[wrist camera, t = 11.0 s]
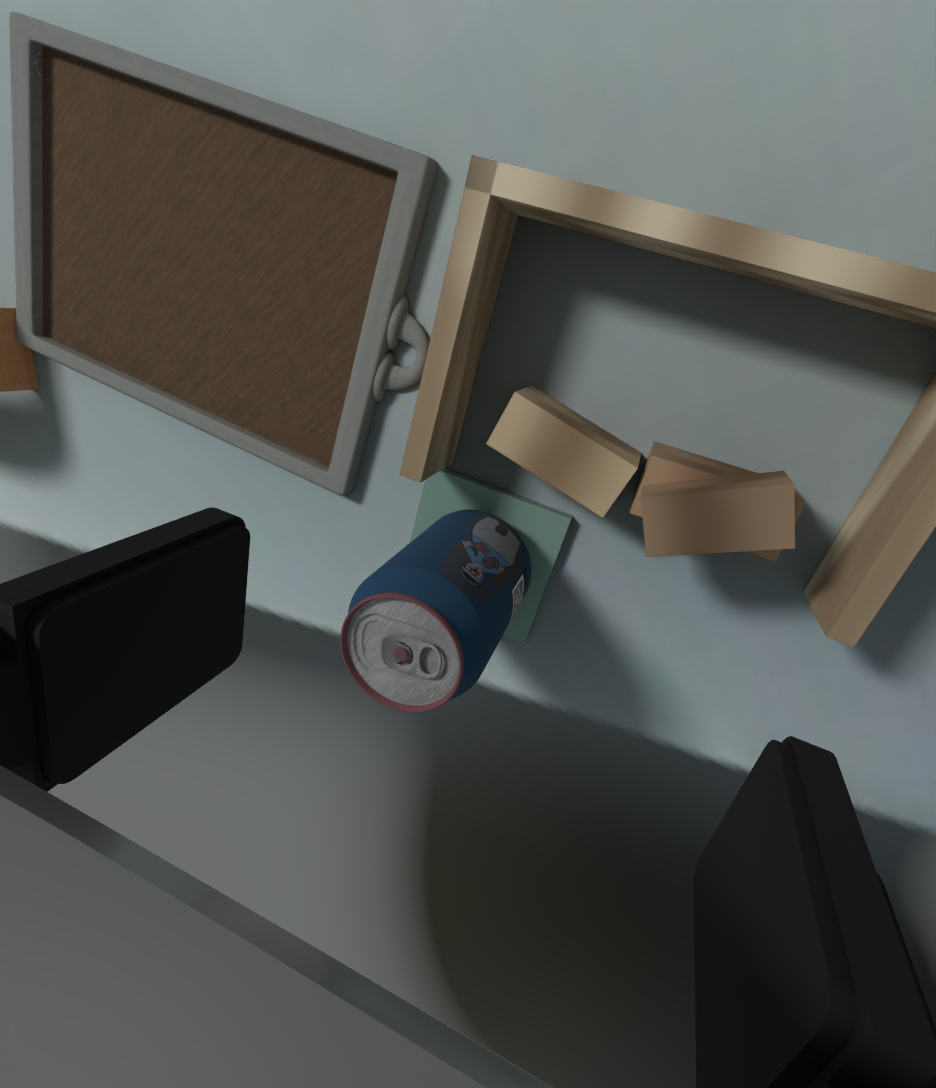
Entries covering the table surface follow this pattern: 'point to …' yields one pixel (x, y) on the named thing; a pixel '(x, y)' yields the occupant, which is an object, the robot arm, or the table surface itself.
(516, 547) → the soda can
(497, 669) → the table surface
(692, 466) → the offcut
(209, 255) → the framed cork board
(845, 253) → the enclosure
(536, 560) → the mat
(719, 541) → the offcut top
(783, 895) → the robot arm
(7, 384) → the arch
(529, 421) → the offcut
